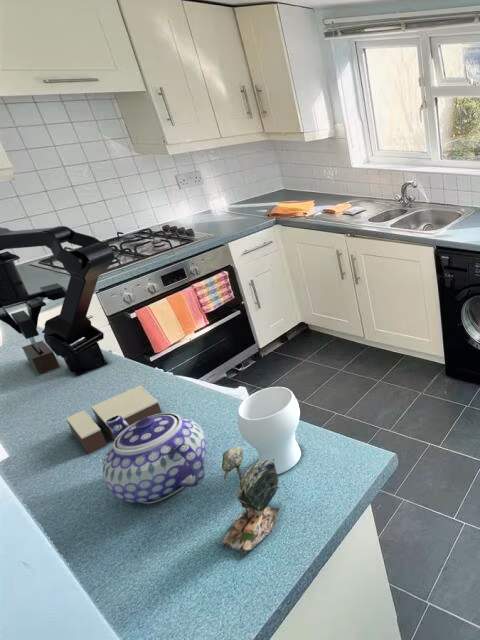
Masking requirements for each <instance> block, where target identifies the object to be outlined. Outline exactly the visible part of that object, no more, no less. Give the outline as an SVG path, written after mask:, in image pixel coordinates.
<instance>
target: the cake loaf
mask: <svg viewBox="0 0 480 640" xmlns="http://www.w3.org/2000/svg"><path fill="white" fill-rule="evenodd" d="M91 410H92V412H93V414H94V417H95V419H96V421H97V423H98V424H99V425H100V426H101V428H102V429H103V430H104V431H105V432H106V434H107V435H108V436H109V437H110V438H111V439H112V440H113V442H114V441H115V437H114V435H113V433H112V431H111V429H110V428H109V426H108V425H107V423H106V421H107V420H108V419H110V418H112V417H115V416H121V417H122V418H123V419H124V420H125V421H126V422H127V423H128V425H129V426H130V425H132V424H134V423H135V422H137V421H139V420H141V419H143V418H145V417H149V416H152V415H156V414H160V413H163V411H162V409H161V407H160V404H159V401H158V399H156V398H155V397H154V396H153V395H152V394H151V393H149V391H147V390H146V389H145V388H144V387H143V386H142V385H138V386H137V385H136V386H135V387H133V388H130V389H129V390H126V391H124V392H122V393H119V394H117V395H114V396H112V397H110V398H108V399H106V400H103V401H101V402H99V403H97V404H95V405H92V406H91Z"/></svg>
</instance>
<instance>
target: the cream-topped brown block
mask: <svg viewBox="0 0 480 640" xmlns="http://www.w3.org/2000/svg"><path fill="white" fill-rule="evenodd" d="M65 419H66V421H67V424H68V426H69V429H70V430H71V432H72V434H73V436H74V437H75V438H76V439H77V441H78V442H79V443H80V444H81V446H82V447H83V449H84V450H85V451H86V452H87V454H92V453H93V452H95V451H97V450H99V449H101V448H103V447H105V446H107V445H108V443H107V441H106V439H105V437H104V434H103V432H102V430H101V428H100V427H99V425H98V424H97V423H96V422H95V421H94V420H93V418H92V417H91V416H90V415H89V414H88V413H87V412H86V410H85V409H82V410H81V411H78V412H77V413H74V414H72V415H70V416H67V417H66V418H65Z"/></svg>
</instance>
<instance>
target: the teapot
mask: <svg viewBox="0 0 480 640" xmlns="http://www.w3.org/2000/svg"><path fill="white" fill-rule="evenodd" d="M106 423H107V425H108V426H109V428H110V429H111V431H112V433H113V435H114V437H115V441H114V440H113V443H112V446H111V448H109V449H108V451H107V452H106V453H105V455H104V459H103V462H102V478H103V481H104V484H105V487H106V489H107V490H108V491H109V492H110V494H112V495H113V497H115V498H116V499H119V500H121V501H123V502H126V503H132V504H133V503H136V504H137V503H139V504H154V503H158V502H160V501H163V500H165V499H167V498H169V497H171V496H173V495H175V494H177V493H179V492H180V491H181V490H182V489H184V488H194V487H197V486H198V485H199V484H200V483H202V481H203V480H204V478H205V474H206V472H205V467H204V463H205V459H206V455H207V449H208V448H207V445H208V444H207V437H206V434H205V432H204V431H203V429H202V427H201V426H200V425H199V424H198V423H197V422H196V421H195V420H193V419H190V418H187V417H183V416H180V415H179V414H177V413H173V412H162V413H160V414H156V415H152V416H149V417H145V418H143V419H141V420H139V421H137V422H135V423H134V424H132V425H130V426H129V425H128V423H127V422H126V421H125V420H124V419H123V418H122V417H121V416H115V417H112V418H110V419H108V420H107V421H106Z"/></svg>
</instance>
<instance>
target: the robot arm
mask: <svg viewBox="0 0 480 640" xmlns="http://www.w3.org/2000/svg"><path fill="white" fill-rule="evenodd" d="M64 243H68V244H70V245H75V246H78V247H79V248H75V249H73V250H67V249H65V248H63V245H62V244H64ZM35 247H37V248H38V247H46V248H48V249H50V251H51V253H52V255H53V257H54V259H55V261H57V262H59V263H61V264H63V265H64V269H65V271H66V272H67V273H68V274H69V275H70V277H69V281H68V284H67V288H66V287H65V286H63V285H62V284H60V283H58V282H57V283H51V284H48V285H44V286H40V287H39V290H40V291H37V292H33V293H29V292H28V290H27V289H28V288H26V286H25V282H24V281H23V278H22V277H21V274H20V272H19V270H18V267H17V265H16V263H15V261H18V260H20V259H21V257H20V256H19V255H17V254H14V253H11V252H10V251H7V250H11V249H22V248H25V249H26V248H35ZM5 250H6V251H5ZM1 251H3V252H1ZM0 252H1V253H0V321H1V322H3V323H5V324H6V325H8V326H10V328H11V329H13V330H14V331H16V332H17V333H18V334H19V335H22V332H21V330H20V328H19V327H18V325H17V324H16V323H15V321H14V320H13V318H12V316H11V314H9V312H8V311H7V310H6V309H9V308H13V307H17V306H20V305H24V304H25V306H26V309H27V314H28V315H29V317H30V318H31V319H32V320H33V323H34V325H35V327H36V329H37V330H38V323H39V316H40V313H41V311H42V308H44V307H46V306H47V303H46V302H45V301H44V299H45V298H47V300H50V301H53V302H54V301H56V300H60V299H63V301H62V305H61V309H60V313H59V314H57V315H55V316H53V317H51V318H49V319H47V320H46V321H45V323H44V329H43V330H42V331H41V333H42V334H43V339H44V340H43V341H44V343H45V344H46V345H47V346H48V347H49V348H50V349H51V350H52V351H53V353H54V355H55V356H57V357H61V358H62V359H63V360H64V363H65V366H66V367H67V369H68V371H69V372H70V373H74V374H75V376H81V375H84V374H86V373H89V372H91V371H94V370H96V369H99V368H102V367H104V366H107V365H108V364H109V362H108V360H106V359H105V357H104V354H103V352H102V349H101V347H100V344H99V343H98V342H99V341H102V340H104V338H105V337H104V334H105V333H104V332H103V331H102V330H101V329H98V328H97V327H96V326H94V325H92V320H90V318H88V317H87V316H88V315H87V314H88V312H89V309H90V306H91V303H92V299H93V296H94V292H95V290H96V286H97V284H98V283H97V282H98V280H99V277H100V276H101V275H102V274H103V273H104V272H105V271H106V270H108V268H110V266H111V264H112V263H113V261H114V260H115V252H114V251H113V249H112V247H110V246H109V245H107V244H106V243H104V242H102V241H101V240H99V239H97V238H96V237H94V236H92V235H88V234H84V233H80V232H77V231H75V230H73V229H72V228H71V227H68V226H66V225H58V226H55V227H54V226H53V227H44V228H33V229H31V228H30V229H22V230H21V229H20V230H10V229H9V228H7V227H0Z"/></svg>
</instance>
